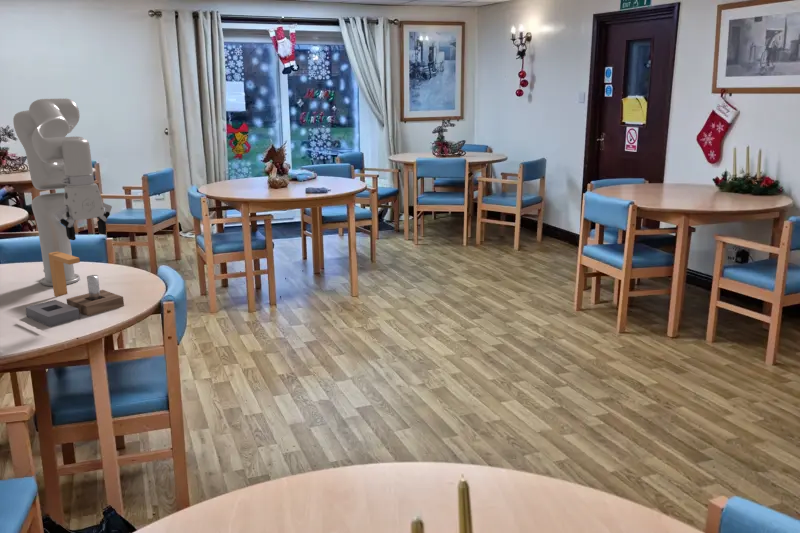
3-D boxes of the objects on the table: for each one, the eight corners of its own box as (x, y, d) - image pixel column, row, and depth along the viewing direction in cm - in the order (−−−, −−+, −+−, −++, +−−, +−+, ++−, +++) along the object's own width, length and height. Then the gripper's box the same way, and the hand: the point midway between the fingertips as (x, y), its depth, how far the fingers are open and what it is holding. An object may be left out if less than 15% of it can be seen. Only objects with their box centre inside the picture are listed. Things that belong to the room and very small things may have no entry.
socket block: (68, 311, 214) (66, 298, 212) (103, 301, 223) (102, 289, 222) (88, 319, 207) (86, 306, 205) (124, 308, 216) (123, 296, 215)
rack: (27, 319, 206) (25, 307, 205) (56, 311, 213) (55, 299, 212) (50, 329, 198) (48, 316, 197) (80, 321, 205) (78, 308, 204)
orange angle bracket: (53, 296, 227) (47, 253, 223) (63, 293, 230) (58, 251, 226) (74, 304, 219) (68, 260, 215) (85, 301, 222) (79, 257, 218)
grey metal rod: (88, 307, 214) (84, 276, 211) (98, 304, 217) (94, 274, 214) (93, 309, 212) (90, 278, 210) (103, 306, 215) (100, 276, 212)
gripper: (57, 185, 195) (65, 243, 199) (113, 178, 208) (120, 233, 212) (45, 183, 199) (53, 240, 204) (100, 176, 212) (107, 230, 217)
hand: (87, 236), depth 208 cm, fingers open, 9 cm apart
